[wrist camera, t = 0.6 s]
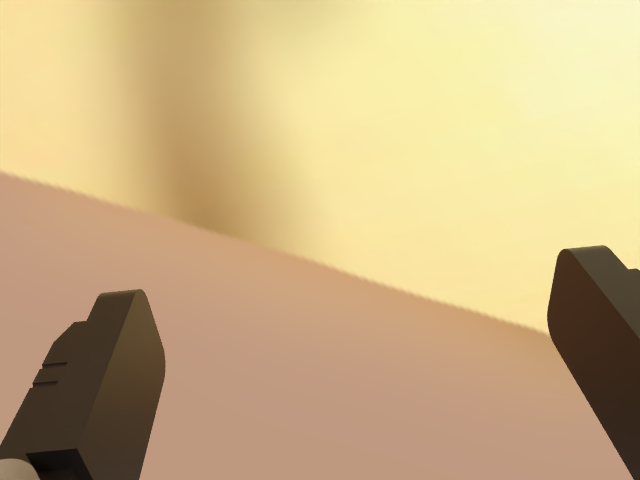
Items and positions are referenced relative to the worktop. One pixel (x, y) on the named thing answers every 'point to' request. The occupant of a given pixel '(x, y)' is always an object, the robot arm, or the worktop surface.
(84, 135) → the worktop surface
